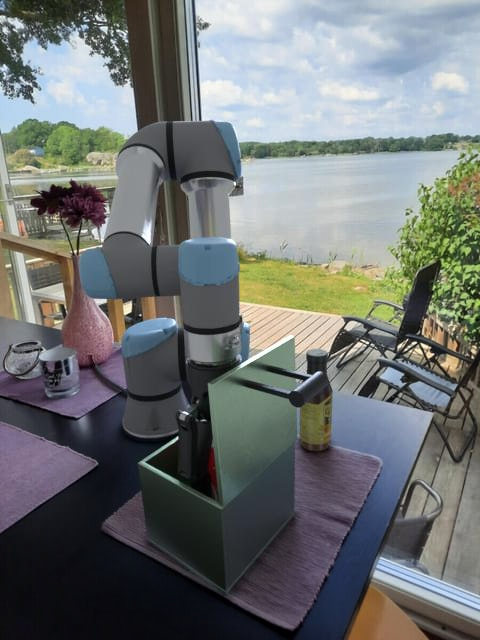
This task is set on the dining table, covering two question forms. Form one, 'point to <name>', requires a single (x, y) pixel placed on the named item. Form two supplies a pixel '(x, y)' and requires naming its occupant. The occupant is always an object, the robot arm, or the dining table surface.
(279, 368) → the lid
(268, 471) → the bin
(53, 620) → the dining table surface
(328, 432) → the sauce bottle
